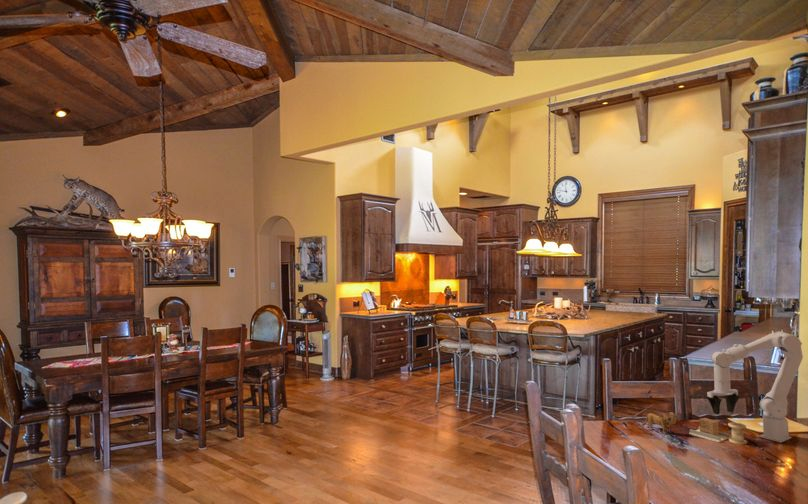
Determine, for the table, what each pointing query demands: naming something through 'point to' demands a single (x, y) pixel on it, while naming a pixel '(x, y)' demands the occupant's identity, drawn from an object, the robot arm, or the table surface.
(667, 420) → the lion figurine
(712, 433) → the tan block
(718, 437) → the notched board
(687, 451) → the table surface
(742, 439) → the bobbin
